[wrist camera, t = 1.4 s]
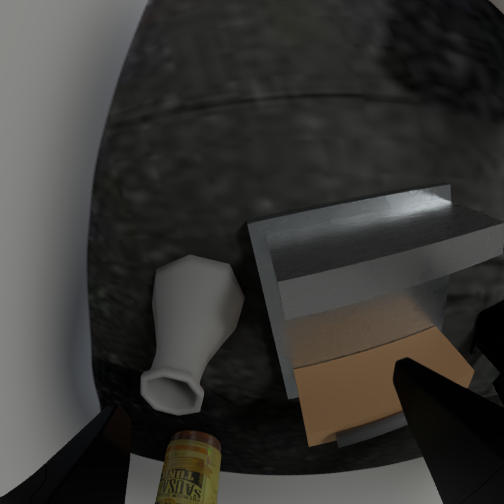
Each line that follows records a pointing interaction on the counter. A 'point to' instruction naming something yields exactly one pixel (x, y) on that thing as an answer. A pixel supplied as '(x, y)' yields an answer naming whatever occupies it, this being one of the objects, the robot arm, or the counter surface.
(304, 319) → the vise base
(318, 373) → the block
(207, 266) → the flask
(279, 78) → the counter surface
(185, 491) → the sauce bottle
